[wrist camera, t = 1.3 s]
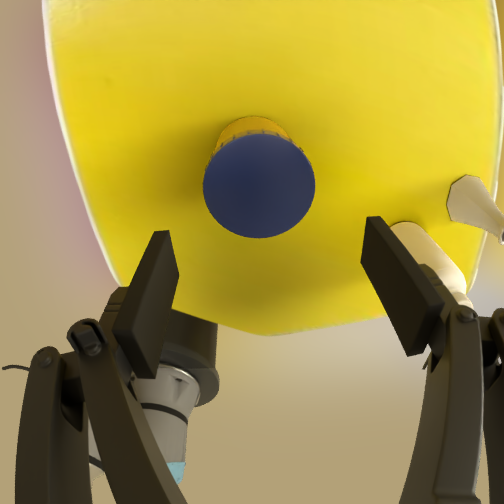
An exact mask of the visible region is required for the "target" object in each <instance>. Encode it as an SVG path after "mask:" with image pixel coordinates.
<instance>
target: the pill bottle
mask: <svg viewBox="0 0 504 504" xmlns="http://www.w3.org/2000/svg"><path fill="white" fill-rule="evenodd" d="M390 229H391V230H392V231H393V232H394V234H395V235H396V236H397V237H398V239H399V240H400V241H401V242H402V244H403V245H404V246H405V247H406V249H407V250H408V251H409V253H410V254H411V255H412V256H413V258H414V259H415V260H416V262H417V263H418V264H426V265H428V266H429V267H430V268H432V269H433V270H434V271H435V272H436V274H437V275H438V276H439V279H441V280H442V282H443V283H444V285H445V286H446V287H447V288H448V290H449V291H450V293H451V294H452V295H453V297H454V298H455V300H456V301H457V302H458V304H459V305H466V306H468V307H470V308H472V309H473V304H472V303H471V301H470V300H469V299H468V297H467V296H466V295H465V293H466V282H465V278H464V276H463V274H462V272H461V271H460V270H459V268H458V267H457V266H456V265H455V264H454V263H453V261H452V260H451V259H450V258H449V257H448V256H447V255H446V254H445V252H444V251H443V250H442V249H441V248H440V247H439V246H438V245H437V244H436V242H435V241H434V240H433V239H432V238H431V237H430V236H429V235H428V234H427V233H426V232H425V231H424V230H423V229H422V228H421V227H420V226H419V225H417V224H415V223H412V222H401V223H398V224H395V225H393V226H392V227H390Z"/></svg>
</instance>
